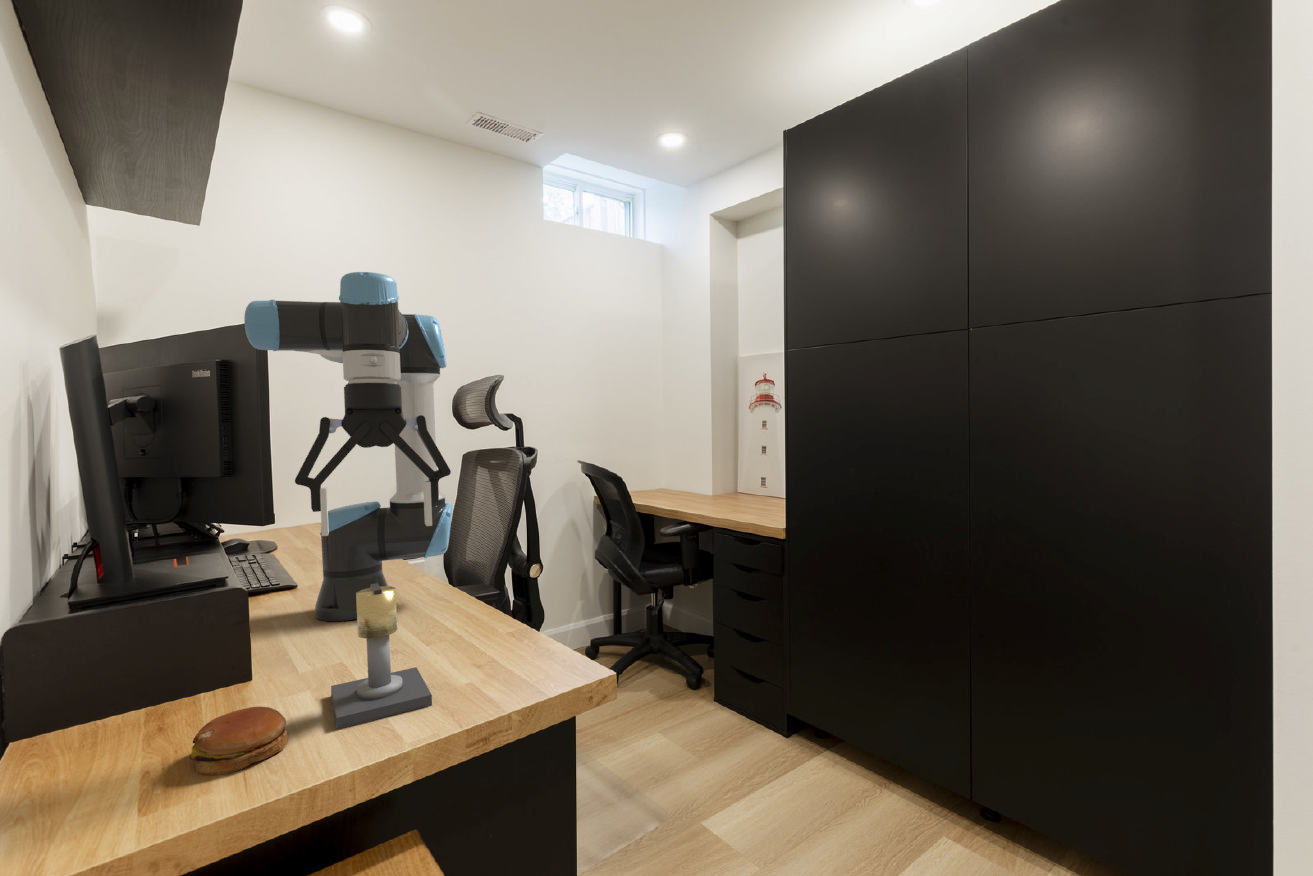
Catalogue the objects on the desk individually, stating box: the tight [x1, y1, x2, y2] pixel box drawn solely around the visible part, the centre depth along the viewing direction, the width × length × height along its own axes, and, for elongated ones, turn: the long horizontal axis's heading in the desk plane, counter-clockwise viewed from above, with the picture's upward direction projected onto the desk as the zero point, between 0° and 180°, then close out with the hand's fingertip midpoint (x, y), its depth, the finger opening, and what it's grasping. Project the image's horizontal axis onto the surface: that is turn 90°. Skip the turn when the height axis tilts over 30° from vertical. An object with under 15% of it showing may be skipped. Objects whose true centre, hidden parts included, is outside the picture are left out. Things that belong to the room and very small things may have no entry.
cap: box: [356, 583, 398, 639], centre depth 88 cm, size 5×5×7 cm
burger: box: [189, 705, 289, 776], centre depth 75 cm, size 10×9×5 cm
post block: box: [330, 635, 433, 730], centre depth 88 cm, size 12×12×10 cm
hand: (378, 529), depth 88 cm, fingers open, 13 cm apart
